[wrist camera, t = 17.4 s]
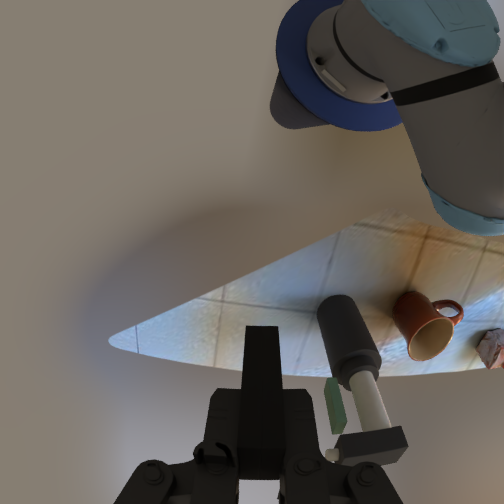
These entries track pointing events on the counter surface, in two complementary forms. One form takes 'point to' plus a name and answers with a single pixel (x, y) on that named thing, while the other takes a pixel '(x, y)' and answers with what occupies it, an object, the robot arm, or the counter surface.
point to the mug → (425, 324)
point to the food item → (492, 349)
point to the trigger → (335, 406)
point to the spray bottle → (358, 385)
